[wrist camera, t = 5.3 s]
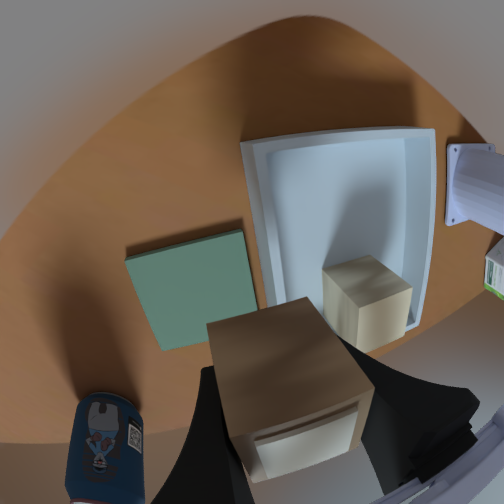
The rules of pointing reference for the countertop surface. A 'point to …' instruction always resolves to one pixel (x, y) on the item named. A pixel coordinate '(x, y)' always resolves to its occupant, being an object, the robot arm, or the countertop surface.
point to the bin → (342, 206)
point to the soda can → (106, 452)
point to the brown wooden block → (287, 388)
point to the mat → (193, 286)
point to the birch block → (365, 302)
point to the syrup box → (495, 270)
